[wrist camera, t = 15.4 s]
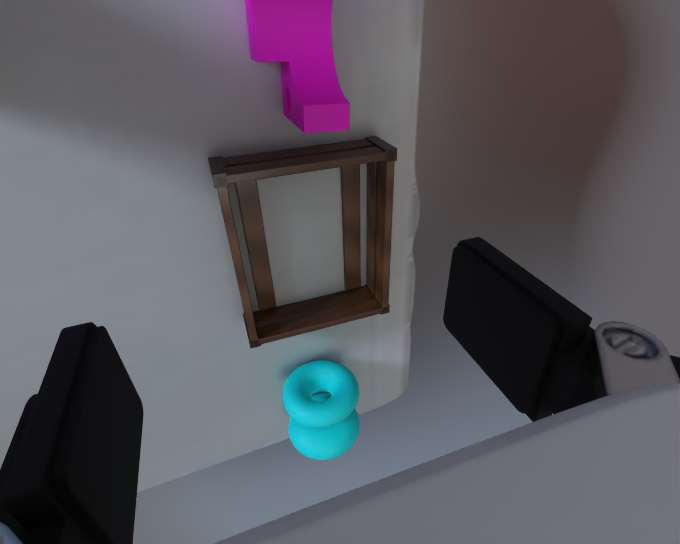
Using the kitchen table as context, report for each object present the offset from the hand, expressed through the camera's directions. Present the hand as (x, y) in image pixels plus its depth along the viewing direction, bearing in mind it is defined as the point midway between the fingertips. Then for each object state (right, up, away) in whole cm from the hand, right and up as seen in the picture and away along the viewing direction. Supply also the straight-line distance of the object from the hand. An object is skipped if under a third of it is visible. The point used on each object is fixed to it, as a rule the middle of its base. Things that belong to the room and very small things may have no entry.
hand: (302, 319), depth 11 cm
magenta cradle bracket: (-4, +23, +22) cm, 32 cm away
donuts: (-3, -15, +47) cm, 49 cm away
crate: (-3, +5, +34) cm, 34 cm away
